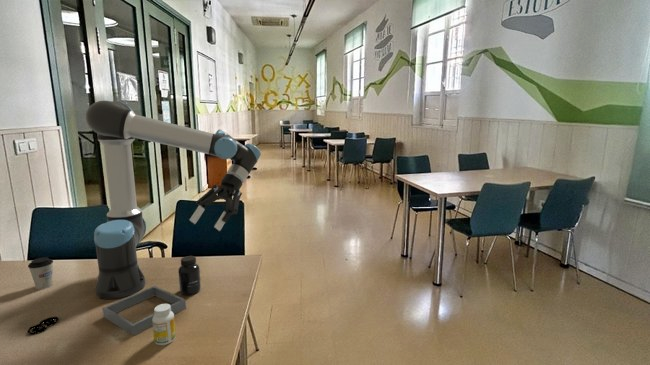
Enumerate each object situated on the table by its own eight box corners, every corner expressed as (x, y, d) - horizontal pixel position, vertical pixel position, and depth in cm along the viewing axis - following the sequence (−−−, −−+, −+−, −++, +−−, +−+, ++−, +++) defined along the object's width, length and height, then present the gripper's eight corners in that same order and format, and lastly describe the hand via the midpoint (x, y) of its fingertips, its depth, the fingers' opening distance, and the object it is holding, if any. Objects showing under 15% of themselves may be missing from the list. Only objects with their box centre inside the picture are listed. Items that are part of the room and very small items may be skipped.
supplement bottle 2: (193, 296, 117) (191, 263, 114) (175, 294, 118) (172, 261, 116) (204, 287, 123) (202, 255, 121) (187, 285, 125) (184, 253, 122)
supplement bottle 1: (160, 348, 91) (156, 315, 89) (150, 340, 94) (147, 308, 92) (179, 338, 95) (176, 306, 93) (170, 331, 98) (167, 300, 97)
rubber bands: (63, 320, 104) (63, 317, 104) (37, 336, 96) (37, 333, 96) (49, 318, 105) (49, 315, 105) (22, 335, 97) (22, 331, 97)
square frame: (103, 317, 105) (102, 308, 105) (155, 293, 119) (154, 285, 118) (133, 335, 96) (132, 325, 96) (185, 308, 110) (185, 299, 109)
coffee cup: (27, 288, 122) (22, 262, 121) (49, 280, 129) (44, 254, 127) (39, 292, 120) (34, 265, 118) (61, 283, 126) (57, 257, 124)
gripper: (263, 188, 131) (234, 237, 121) (218, 180, 144) (189, 224, 135) (253, 176, 126) (221, 226, 116) (207, 169, 139) (176, 214, 129)
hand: (204, 225), depth 125 cm, fingers open, 13 cm apart
